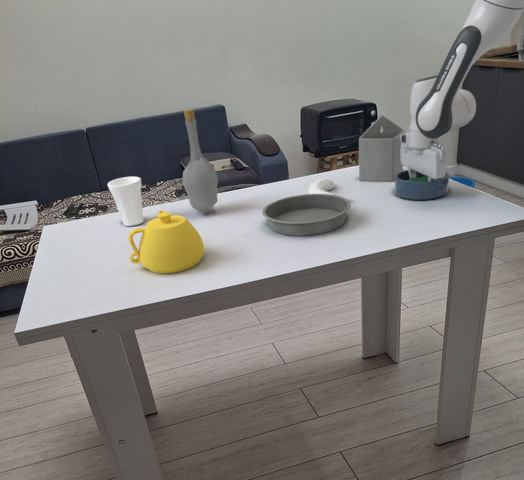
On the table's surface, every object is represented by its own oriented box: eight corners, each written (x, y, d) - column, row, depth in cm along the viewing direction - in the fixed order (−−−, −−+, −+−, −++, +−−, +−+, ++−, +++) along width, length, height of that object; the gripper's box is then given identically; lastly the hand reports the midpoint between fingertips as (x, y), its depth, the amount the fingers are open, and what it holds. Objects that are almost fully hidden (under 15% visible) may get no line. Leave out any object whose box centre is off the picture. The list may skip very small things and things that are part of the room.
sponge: (428, 187, 165) (428, 175, 163) (436, 191, 161) (437, 179, 159) (404, 191, 164) (404, 180, 162) (412, 196, 160) (413, 184, 158)
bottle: (229, 212, 166) (214, 108, 150) (196, 222, 162) (177, 115, 146) (214, 204, 174) (199, 105, 158) (182, 213, 170) (163, 111, 154)
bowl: (450, 186, 165) (452, 168, 162) (442, 202, 154) (444, 183, 151) (401, 185, 171) (401, 167, 169) (389, 200, 160) (390, 182, 157)
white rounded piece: (319, 187, 179) (362, 187, 173) (301, 208, 165) (347, 210, 159) (318, 172, 176) (362, 172, 171) (300, 193, 162) (347, 194, 157)
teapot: (211, 267, 132) (203, 217, 125) (134, 283, 129) (121, 232, 122) (198, 240, 148) (190, 195, 141) (130, 253, 145) (118, 207, 138)
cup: (141, 215, 173) (132, 174, 166) (155, 222, 165) (146, 179, 158) (113, 224, 168) (102, 182, 161) (125, 231, 161) (114, 188, 154)
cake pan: (345, 204, 161) (345, 189, 159) (356, 233, 141) (356, 217, 138) (264, 212, 163) (262, 197, 160) (263, 242, 142) (261, 226, 140)
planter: (369, 186, 174) (370, 122, 163) (358, 180, 180) (358, 119, 170) (414, 177, 177) (417, 114, 167) (401, 172, 184) (404, 111, 173)
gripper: (454, 143, 146) (450, 193, 154) (416, 131, 163) (413, 177, 171) (433, 147, 145) (430, 197, 153) (397, 134, 162) (395, 180, 169)
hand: (421, 186), depth 162 cm, fingers open, 8 cm apart
